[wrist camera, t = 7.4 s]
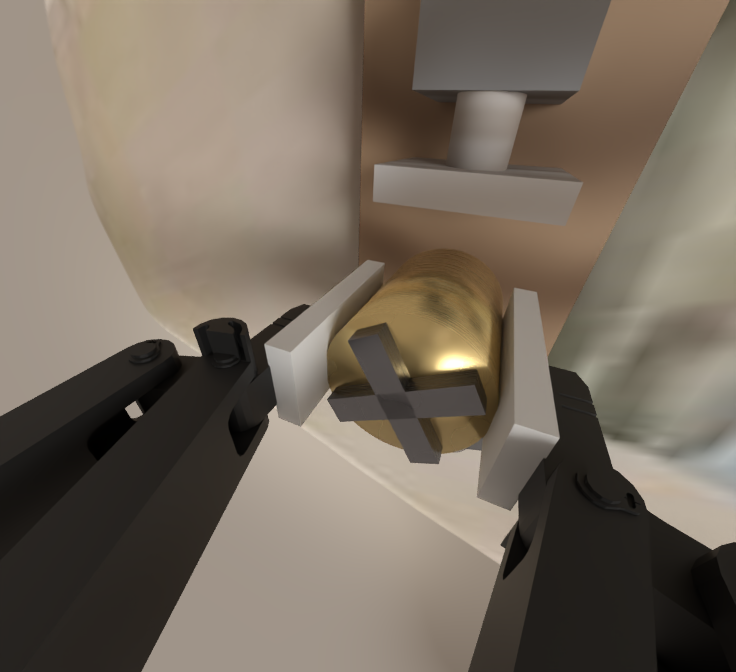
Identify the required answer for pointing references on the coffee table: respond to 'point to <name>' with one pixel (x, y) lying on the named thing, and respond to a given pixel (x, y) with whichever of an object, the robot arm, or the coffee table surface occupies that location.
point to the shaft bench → (546, 135)
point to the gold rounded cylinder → (423, 357)
